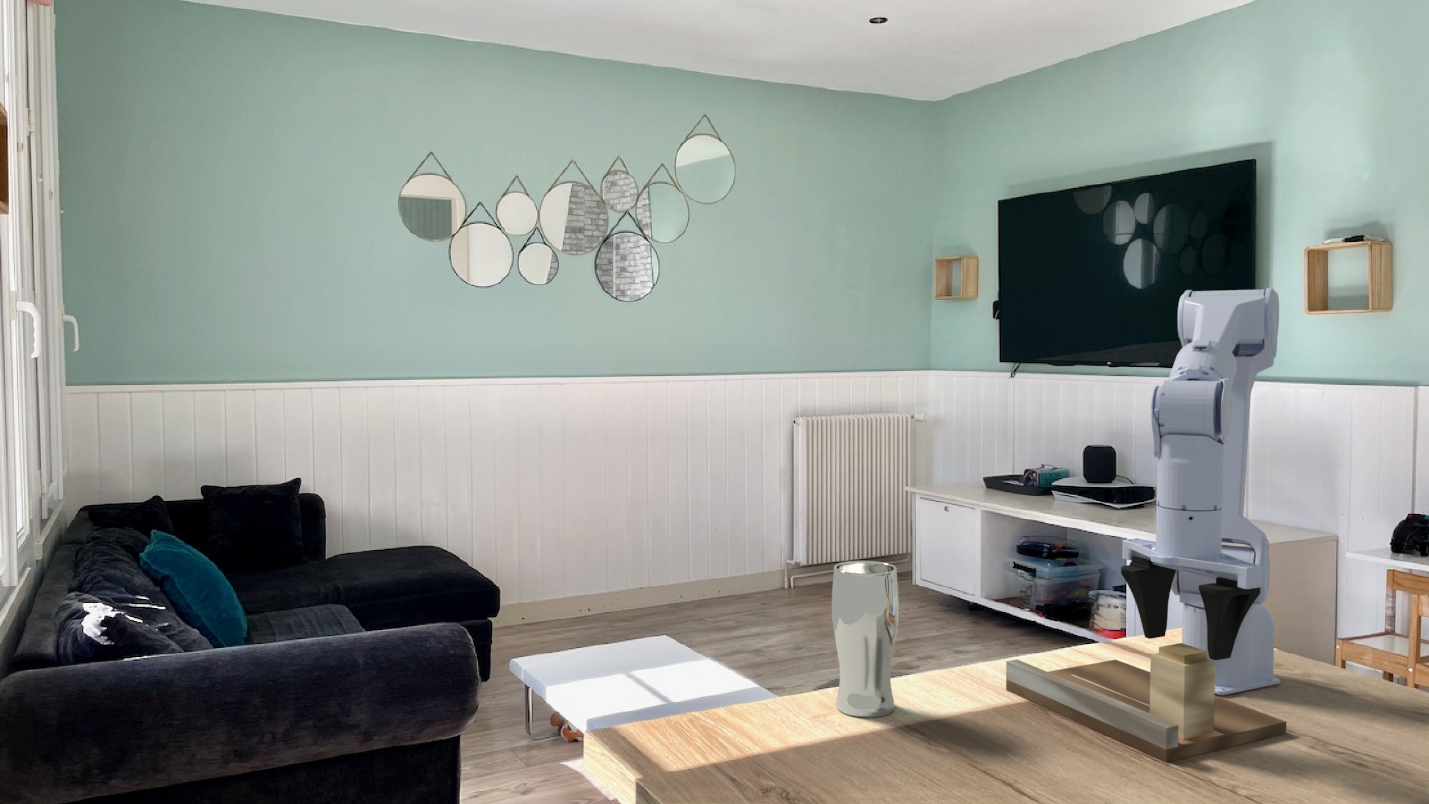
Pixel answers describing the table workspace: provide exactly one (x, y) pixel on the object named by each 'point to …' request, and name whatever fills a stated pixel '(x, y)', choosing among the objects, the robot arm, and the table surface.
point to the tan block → (1183, 689)
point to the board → (1133, 708)
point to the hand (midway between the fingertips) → (1186, 647)
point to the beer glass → (865, 635)
